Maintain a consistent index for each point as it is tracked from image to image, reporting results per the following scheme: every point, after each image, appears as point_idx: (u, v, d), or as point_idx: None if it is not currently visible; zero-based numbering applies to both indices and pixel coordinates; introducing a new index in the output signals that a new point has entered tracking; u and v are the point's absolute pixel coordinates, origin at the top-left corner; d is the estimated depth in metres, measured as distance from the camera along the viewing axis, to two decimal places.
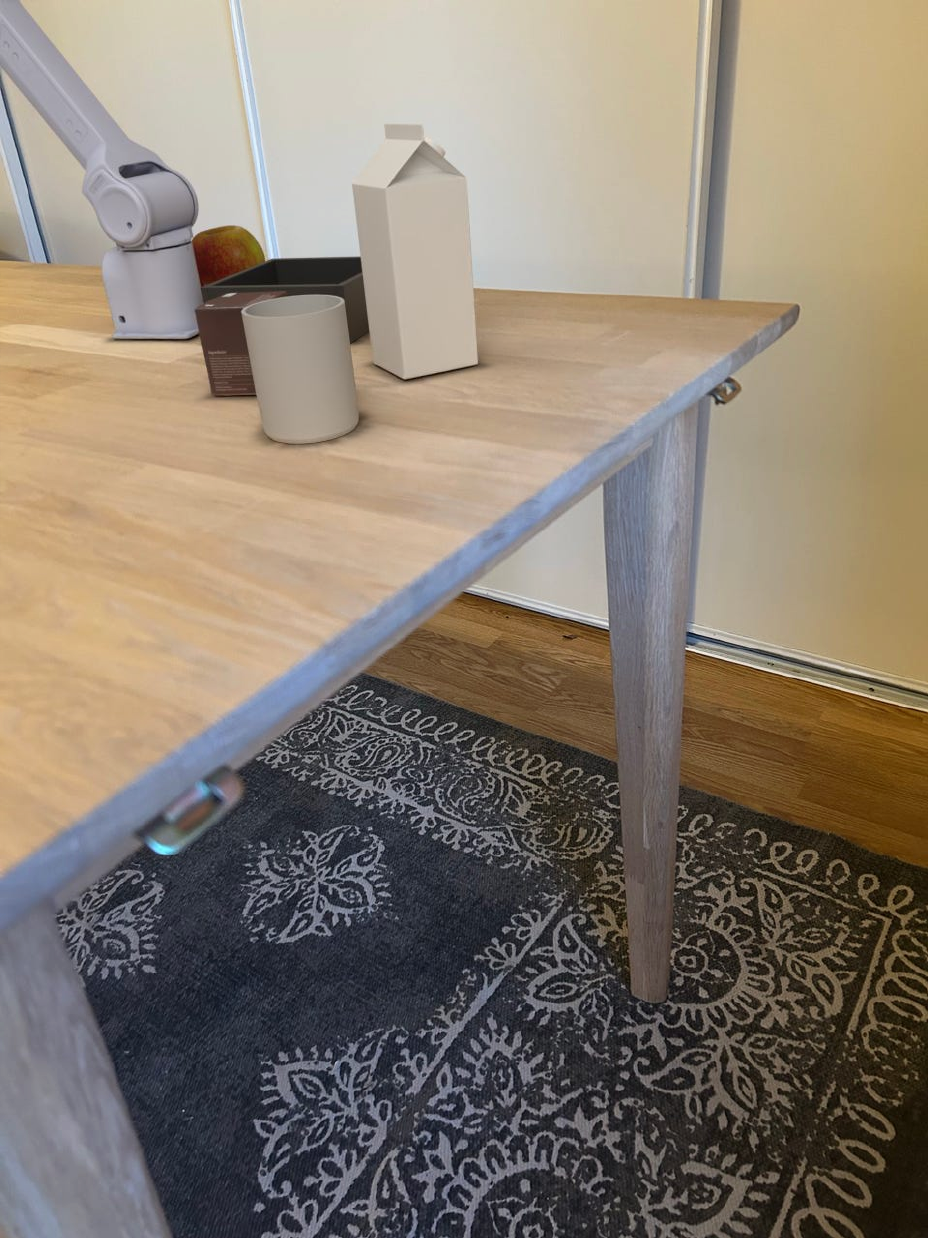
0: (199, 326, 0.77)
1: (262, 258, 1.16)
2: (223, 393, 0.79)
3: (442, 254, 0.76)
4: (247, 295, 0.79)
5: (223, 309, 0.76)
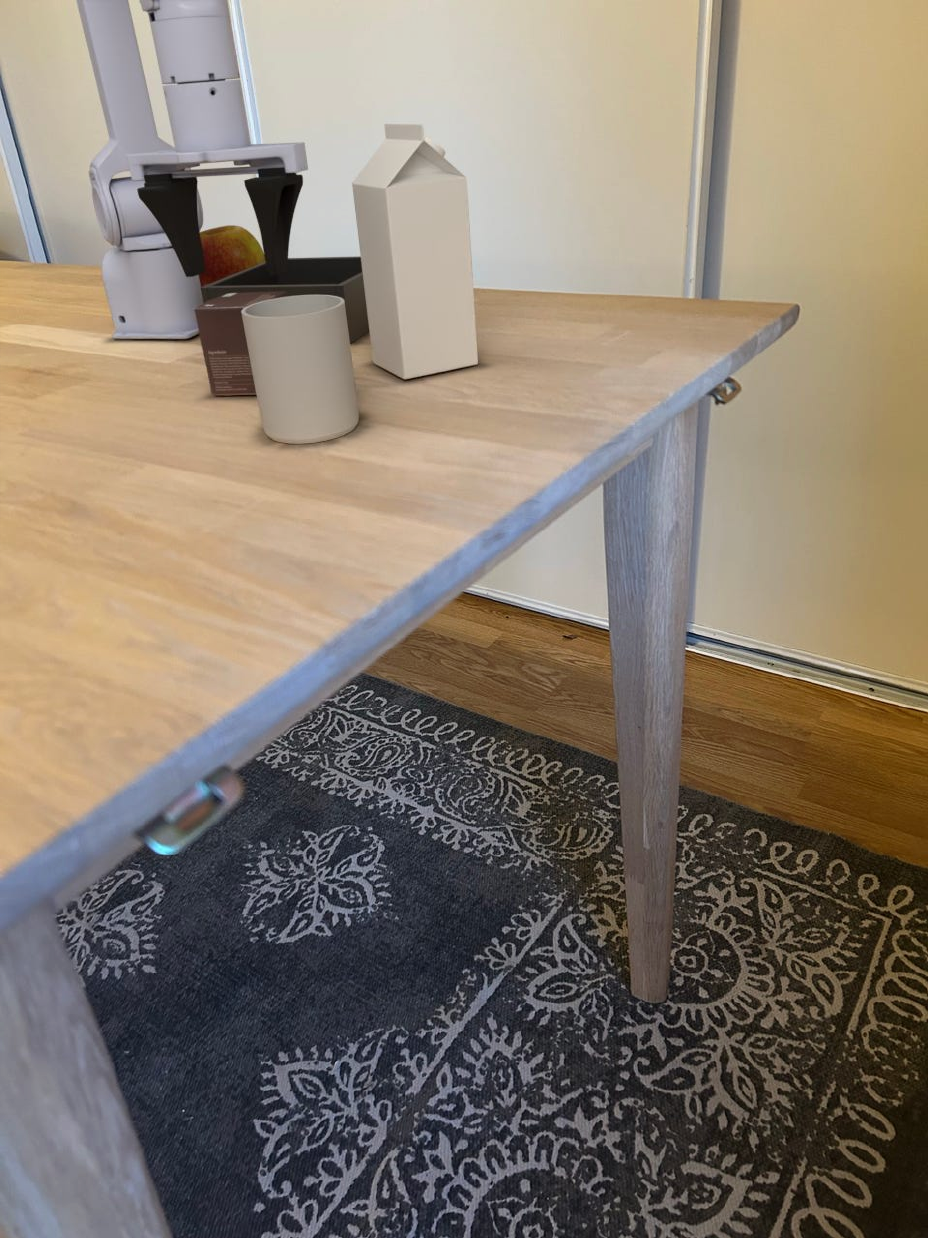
0: (199, 326, 0.77)
1: (262, 258, 1.16)
2: (223, 393, 0.79)
3: (442, 254, 0.76)
4: (247, 295, 0.79)
5: (223, 309, 0.76)
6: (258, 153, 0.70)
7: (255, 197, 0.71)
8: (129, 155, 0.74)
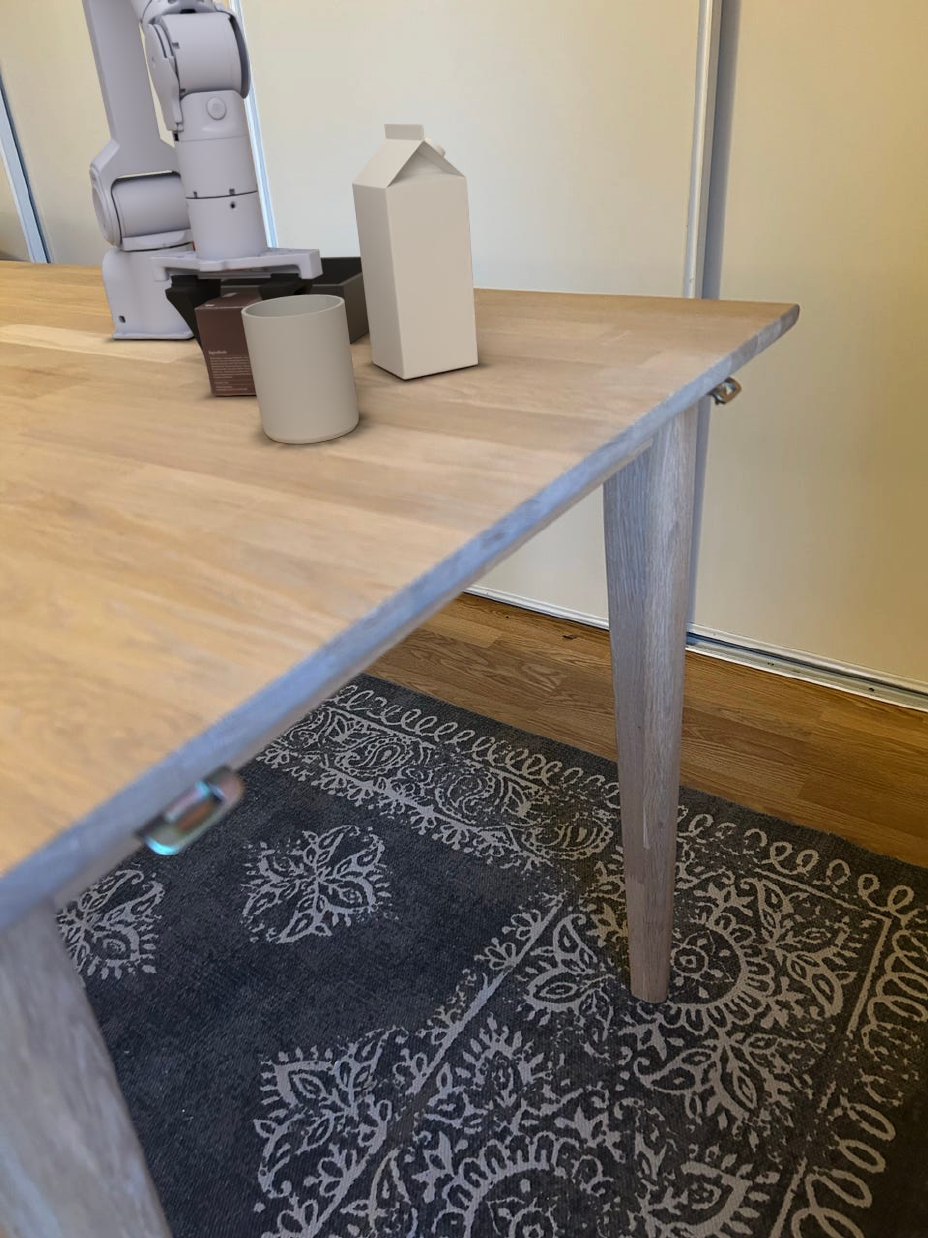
0: (200, 326, 0.77)
1: None
2: (223, 393, 0.79)
3: (442, 254, 0.76)
4: (247, 295, 0.79)
5: (223, 309, 0.76)
6: (275, 261, 0.74)
7: None
8: (152, 258, 0.77)
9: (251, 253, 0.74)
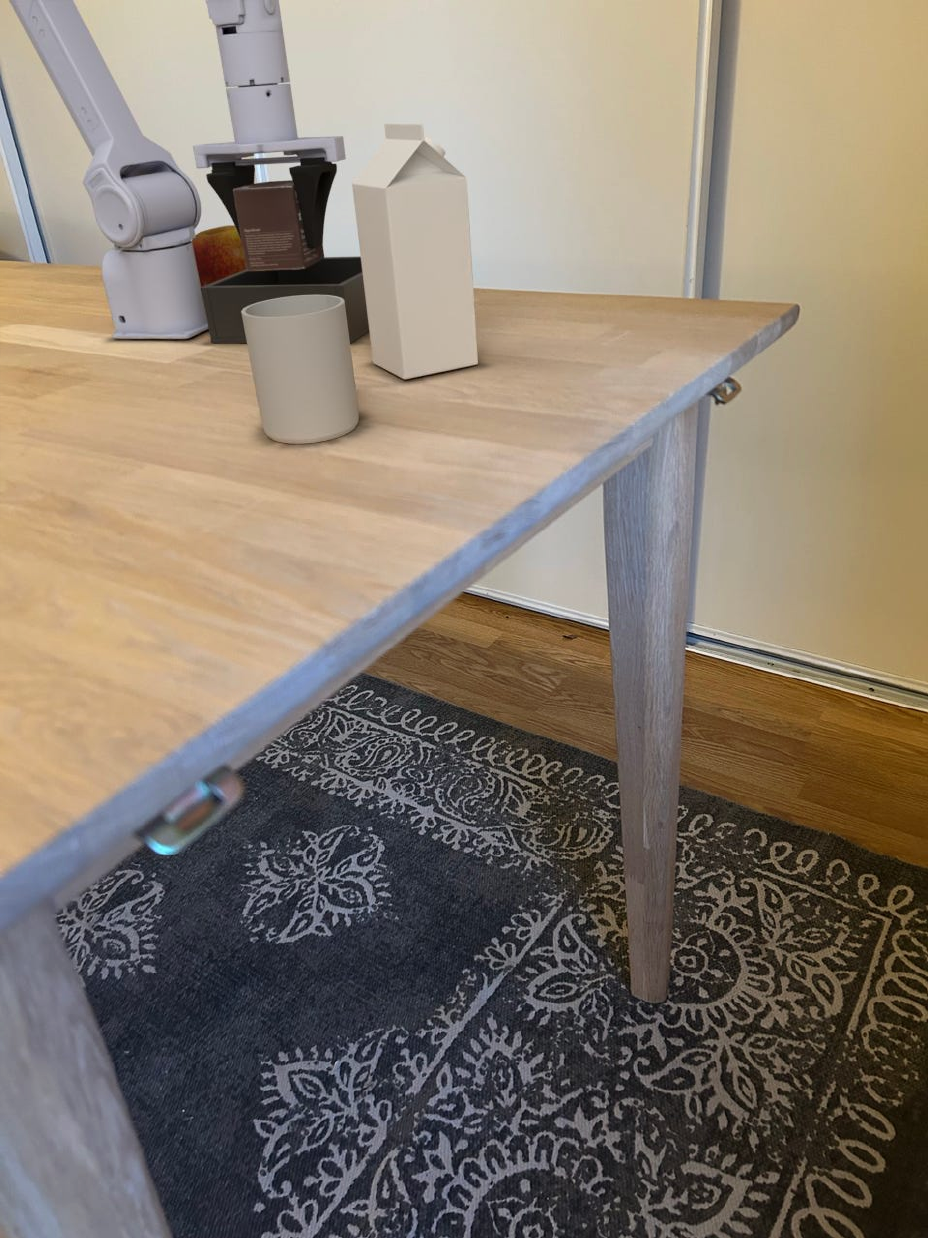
0: (237, 206, 0.87)
1: None
2: (257, 268, 0.90)
3: (442, 254, 0.76)
4: (278, 182, 0.90)
5: (258, 189, 0.86)
6: (305, 145, 0.84)
7: (298, 182, 0.85)
8: (195, 146, 0.88)
9: (283, 138, 0.84)
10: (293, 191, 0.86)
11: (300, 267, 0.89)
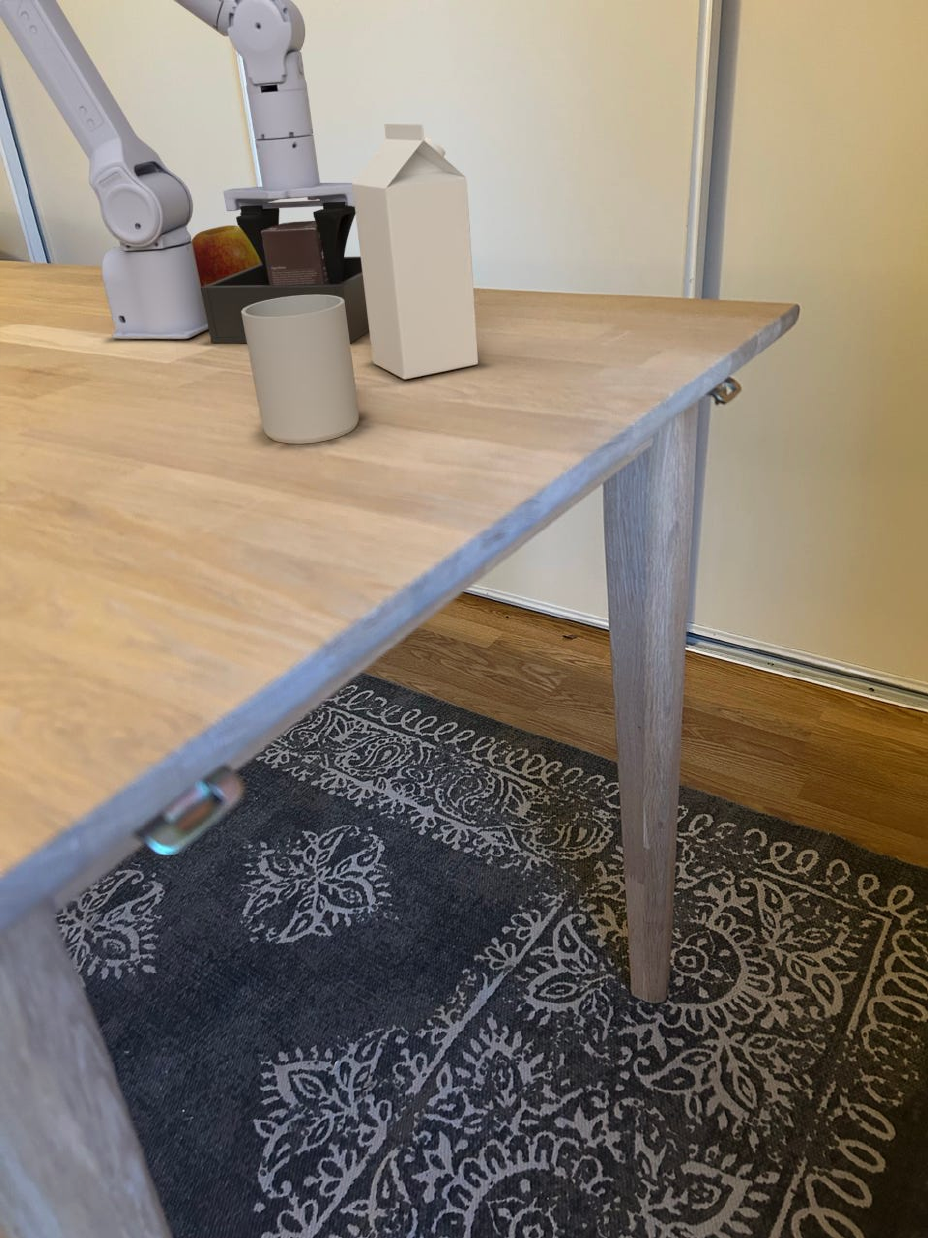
0: (265, 246, 0.95)
1: None
2: None
3: (442, 254, 0.76)
4: (302, 222, 0.97)
5: (284, 231, 0.94)
6: (327, 191, 0.92)
7: (321, 224, 0.93)
8: (225, 191, 0.96)
9: (307, 185, 0.92)
10: (317, 232, 0.94)
11: None
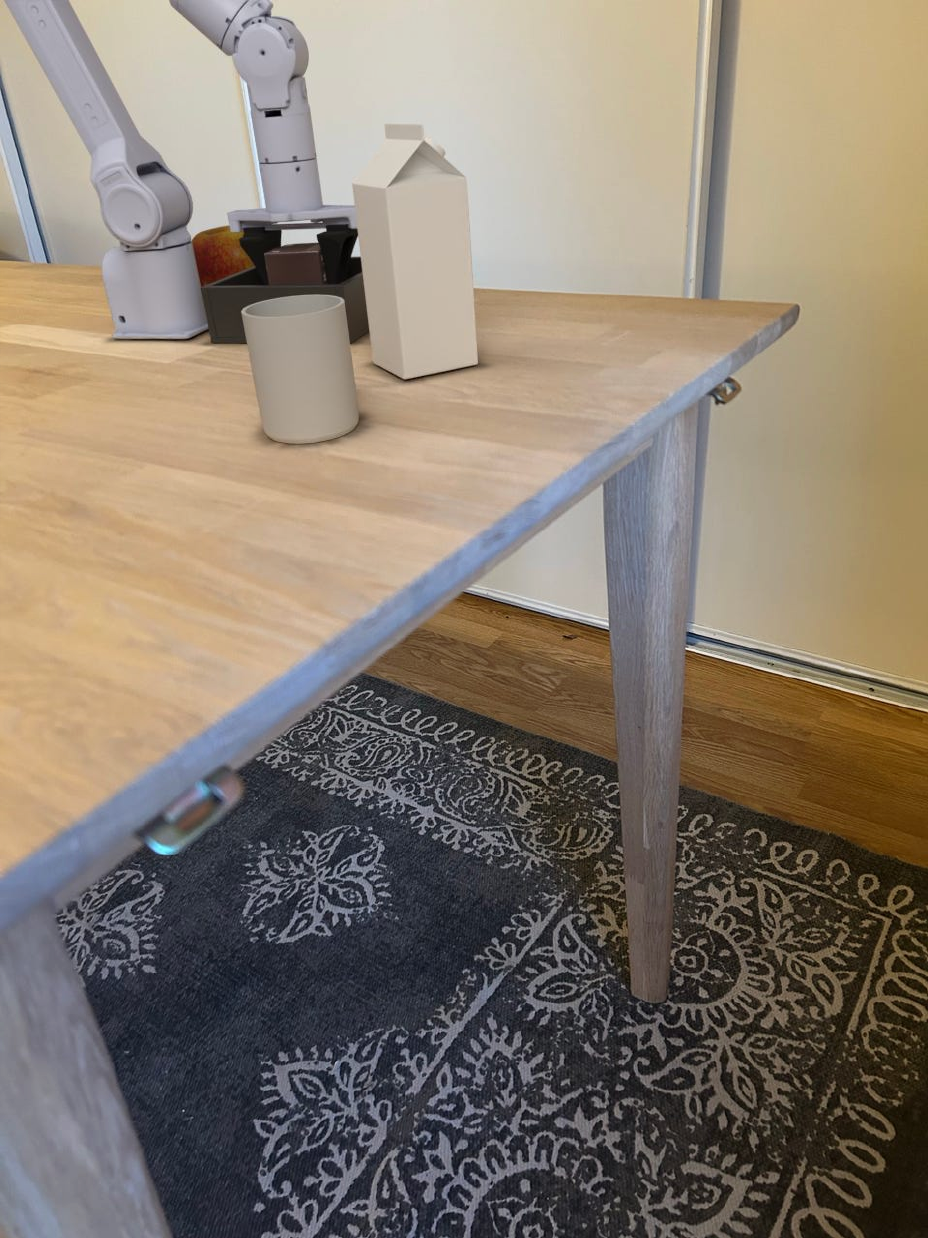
0: (268, 268, 0.96)
1: None
2: None
3: (442, 254, 0.76)
4: (304, 244, 0.99)
5: (287, 254, 0.95)
6: (330, 214, 0.93)
7: (324, 247, 0.94)
8: (229, 213, 0.97)
9: (311, 208, 0.93)
10: (319, 255, 0.95)
11: None
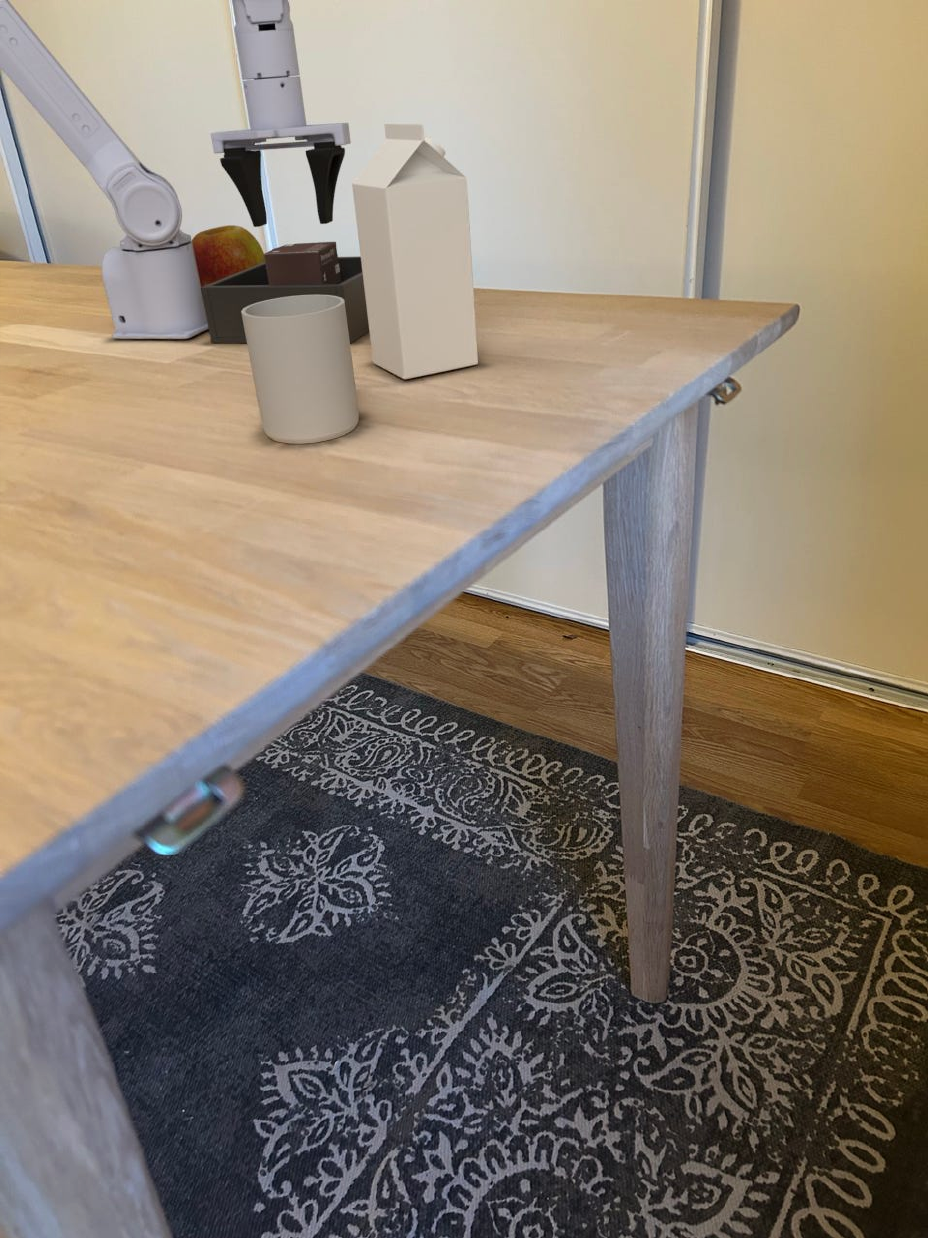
0: (268, 268, 0.96)
1: (262, 258, 1.16)
2: None
3: (442, 254, 0.76)
4: (304, 244, 0.99)
5: (287, 254, 0.95)
6: (315, 130, 0.95)
7: (313, 163, 0.95)
8: (213, 133, 0.98)
9: (295, 125, 0.95)
10: (319, 255, 0.95)
11: None
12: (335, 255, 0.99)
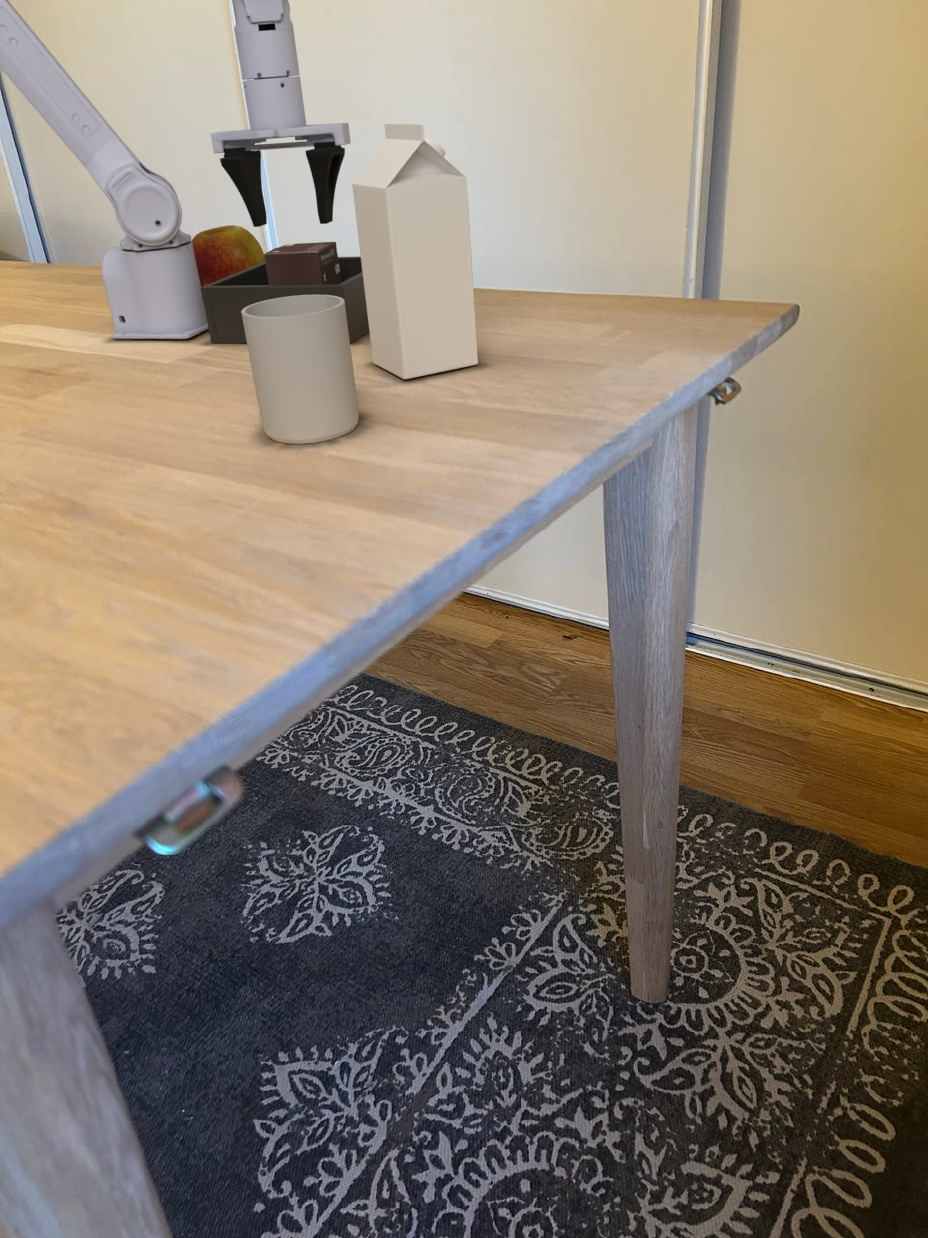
0: (268, 268, 0.96)
1: (262, 258, 1.16)
2: None
3: (442, 254, 0.76)
4: (304, 244, 0.99)
5: (287, 254, 0.95)
6: (315, 130, 0.95)
7: (313, 163, 0.95)
8: (213, 133, 0.98)
9: (295, 125, 0.95)
10: (319, 256, 0.95)
11: None
12: (335, 255, 0.99)
